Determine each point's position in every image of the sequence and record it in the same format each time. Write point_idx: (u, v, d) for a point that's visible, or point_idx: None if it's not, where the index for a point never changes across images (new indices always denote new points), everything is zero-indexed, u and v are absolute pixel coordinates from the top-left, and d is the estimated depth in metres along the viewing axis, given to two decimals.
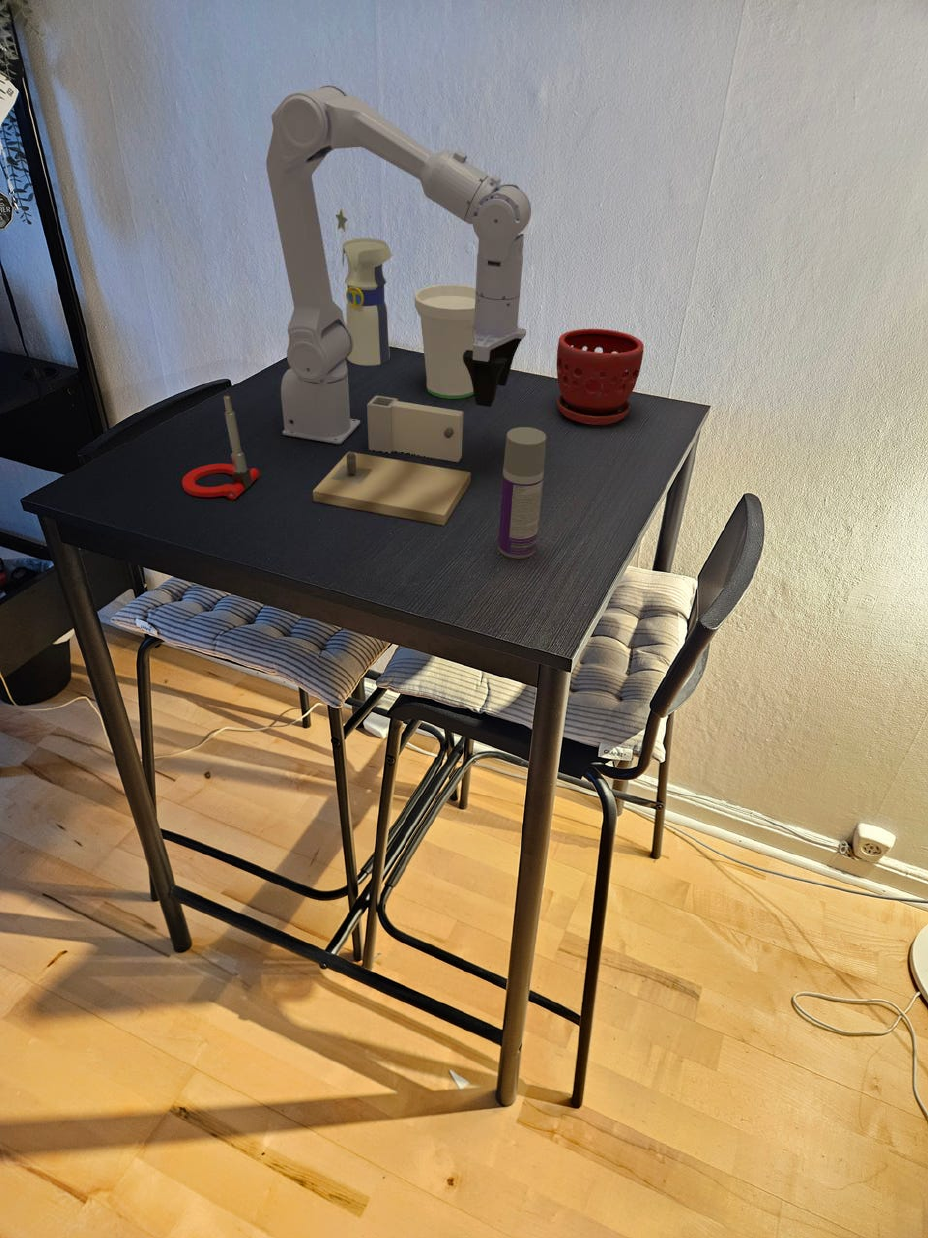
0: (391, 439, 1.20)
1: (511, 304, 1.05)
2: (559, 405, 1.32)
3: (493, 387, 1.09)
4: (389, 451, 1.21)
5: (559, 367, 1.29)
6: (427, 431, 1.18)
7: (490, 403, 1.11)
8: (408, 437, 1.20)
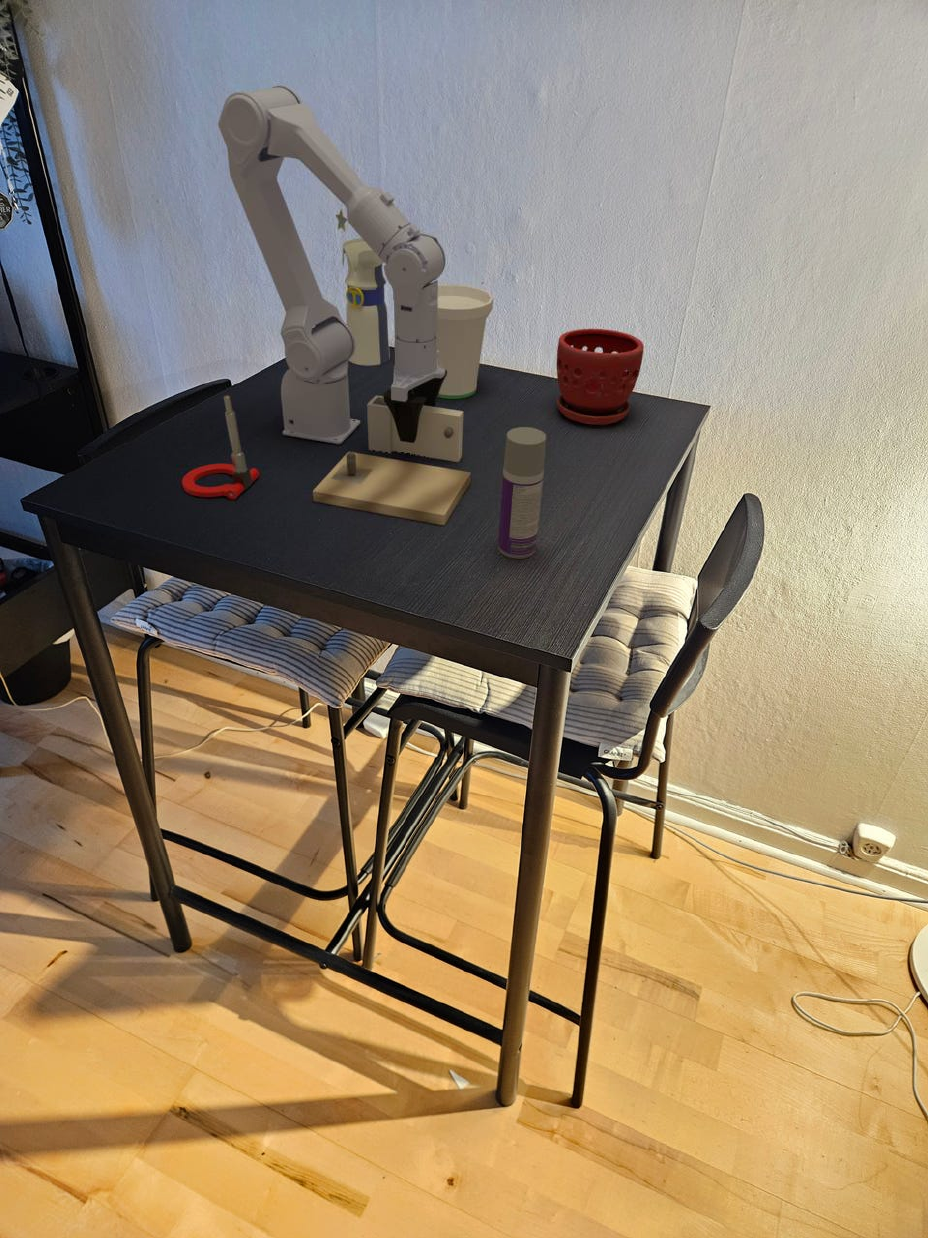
0: (391, 439, 1.20)
1: (428, 346, 1.10)
2: (559, 405, 1.32)
3: (414, 424, 1.14)
4: (389, 451, 1.21)
5: (559, 367, 1.29)
6: (427, 431, 1.18)
7: (413, 439, 1.16)
8: None
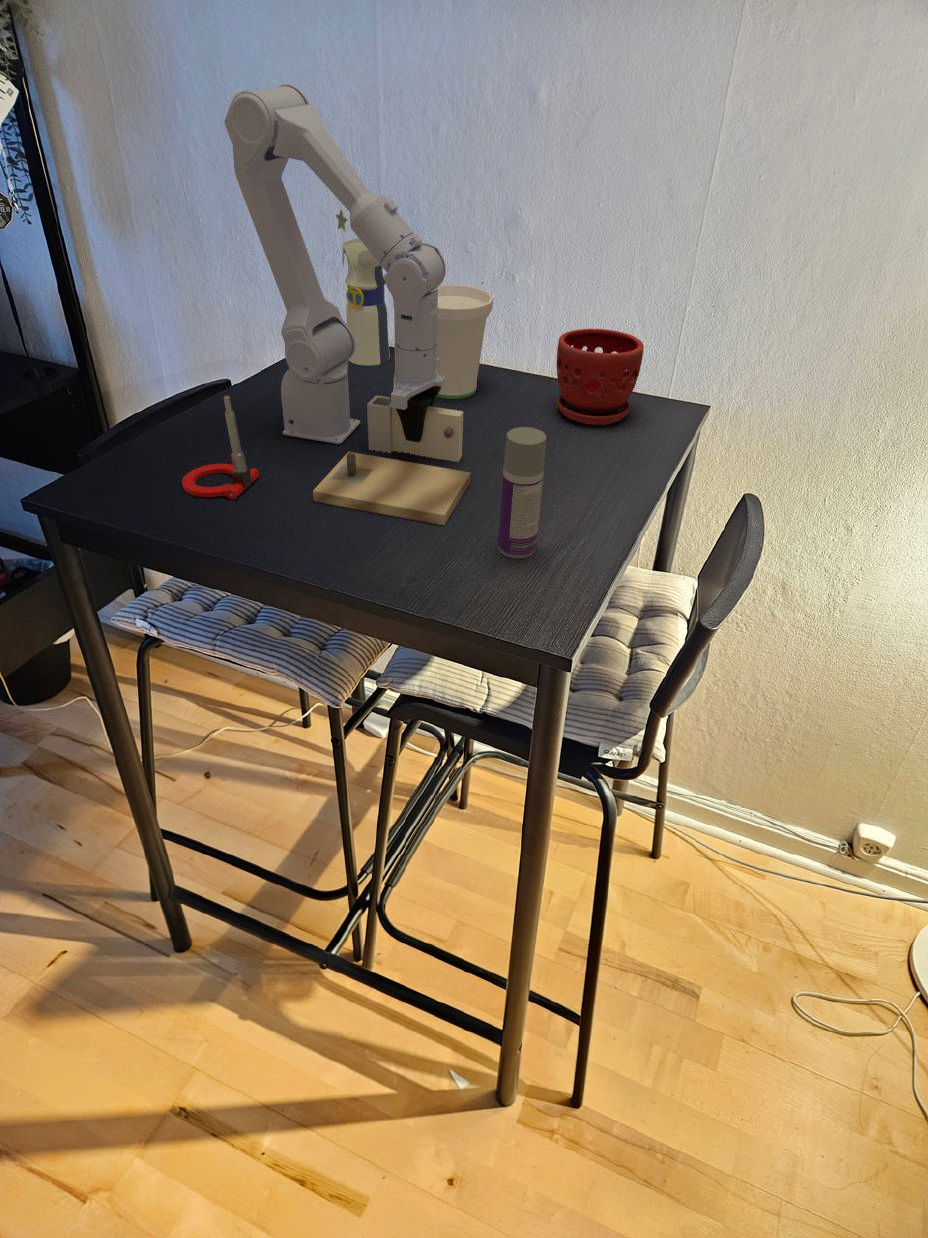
0: (391, 439, 1.20)
1: (428, 355, 1.11)
2: (559, 405, 1.32)
3: (420, 424, 1.17)
4: (389, 451, 1.21)
5: (559, 367, 1.29)
6: (427, 431, 1.18)
7: (418, 439, 1.19)
8: None
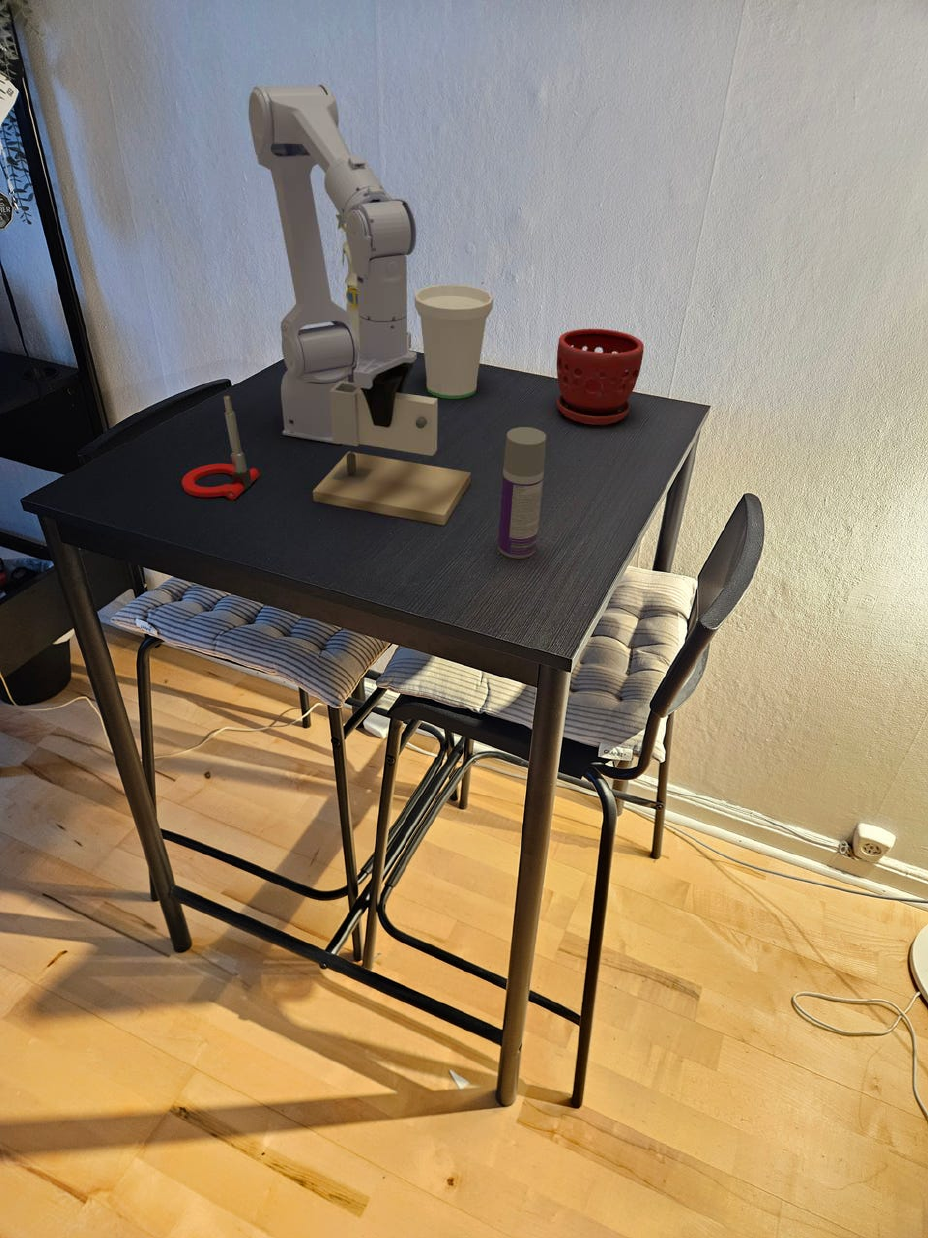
0: (357, 430, 1.07)
1: (396, 326, 0.97)
2: (559, 405, 1.32)
3: (389, 407, 1.03)
4: (355, 444, 1.08)
5: (559, 367, 1.29)
6: (397, 421, 1.05)
7: (388, 423, 1.05)
8: (376, 428, 1.06)
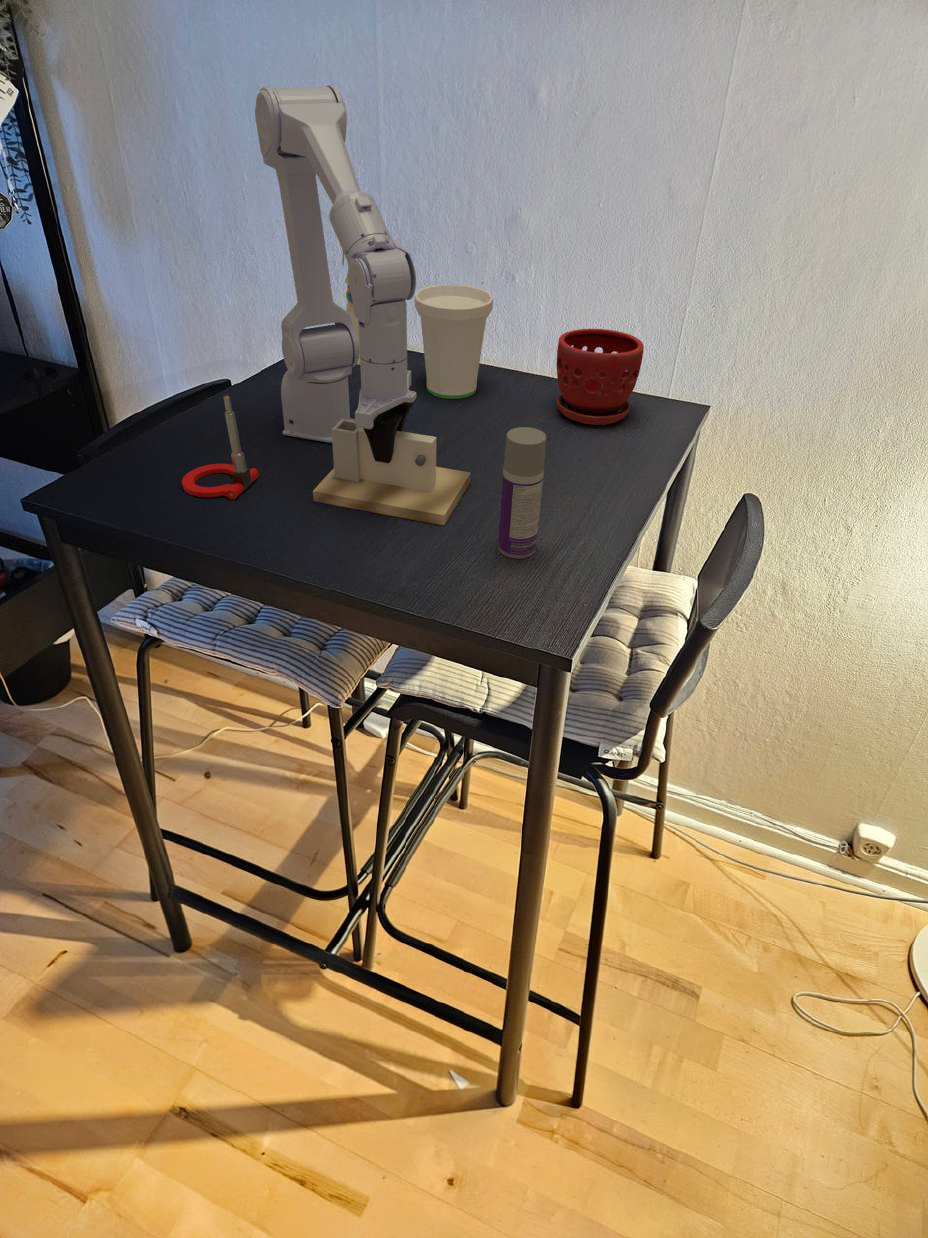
0: (359, 466, 1.10)
1: (396, 368, 1.00)
2: (559, 405, 1.32)
3: (389, 444, 1.06)
4: (356, 479, 1.11)
5: (559, 367, 1.29)
6: (397, 459, 1.08)
7: (388, 459, 1.08)
8: (377, 464, 1.10)
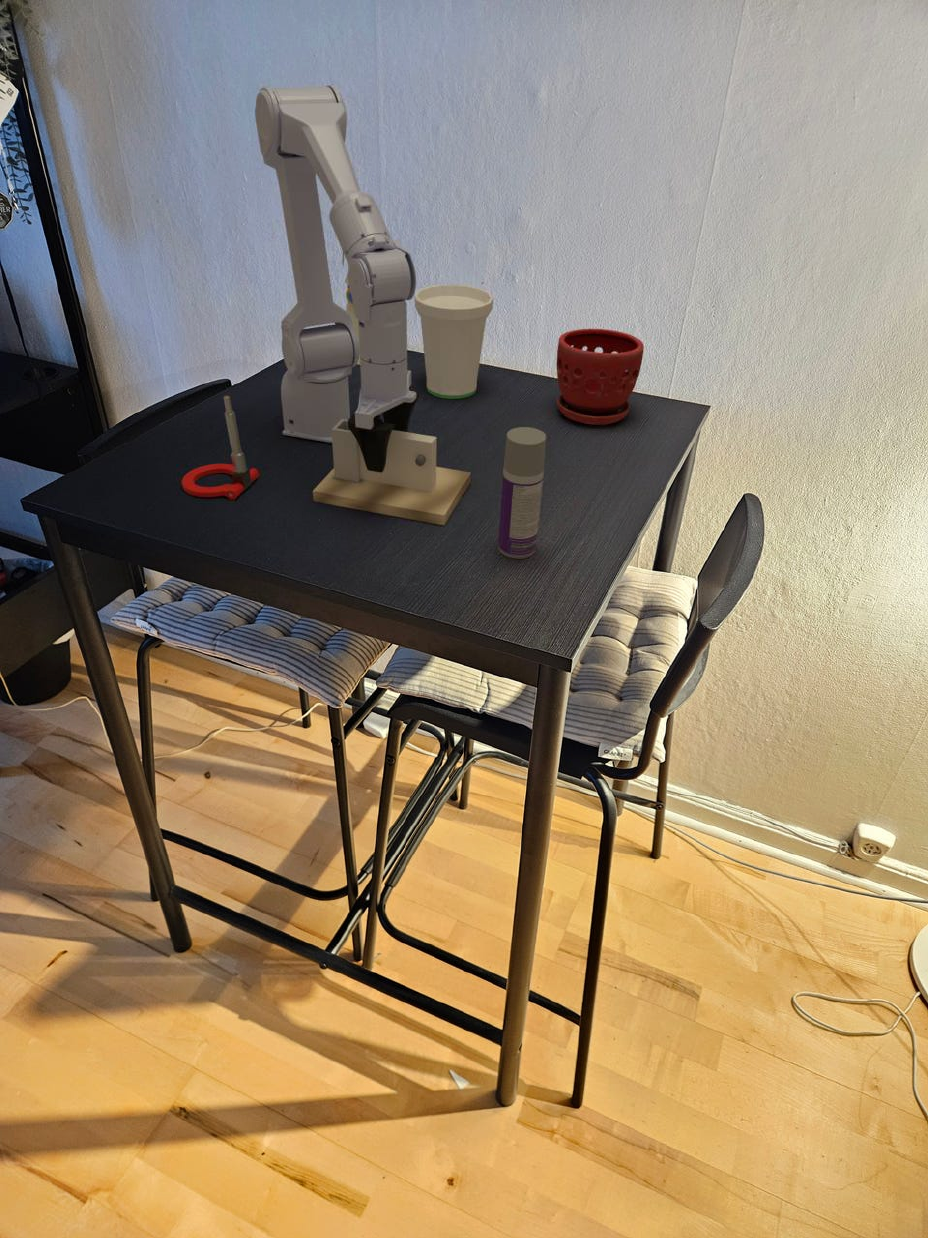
0: (359, 466, 1.10)
1: (396, 368, 1.00)
2: (559, 405, 1.32)
3: (382, 453, 1.04)
4: (356, 479, 1.11)
5: (559, 367, 1.29)
6: (397, 459, 1.08)
7: (381, 469, 1.06)
8: None
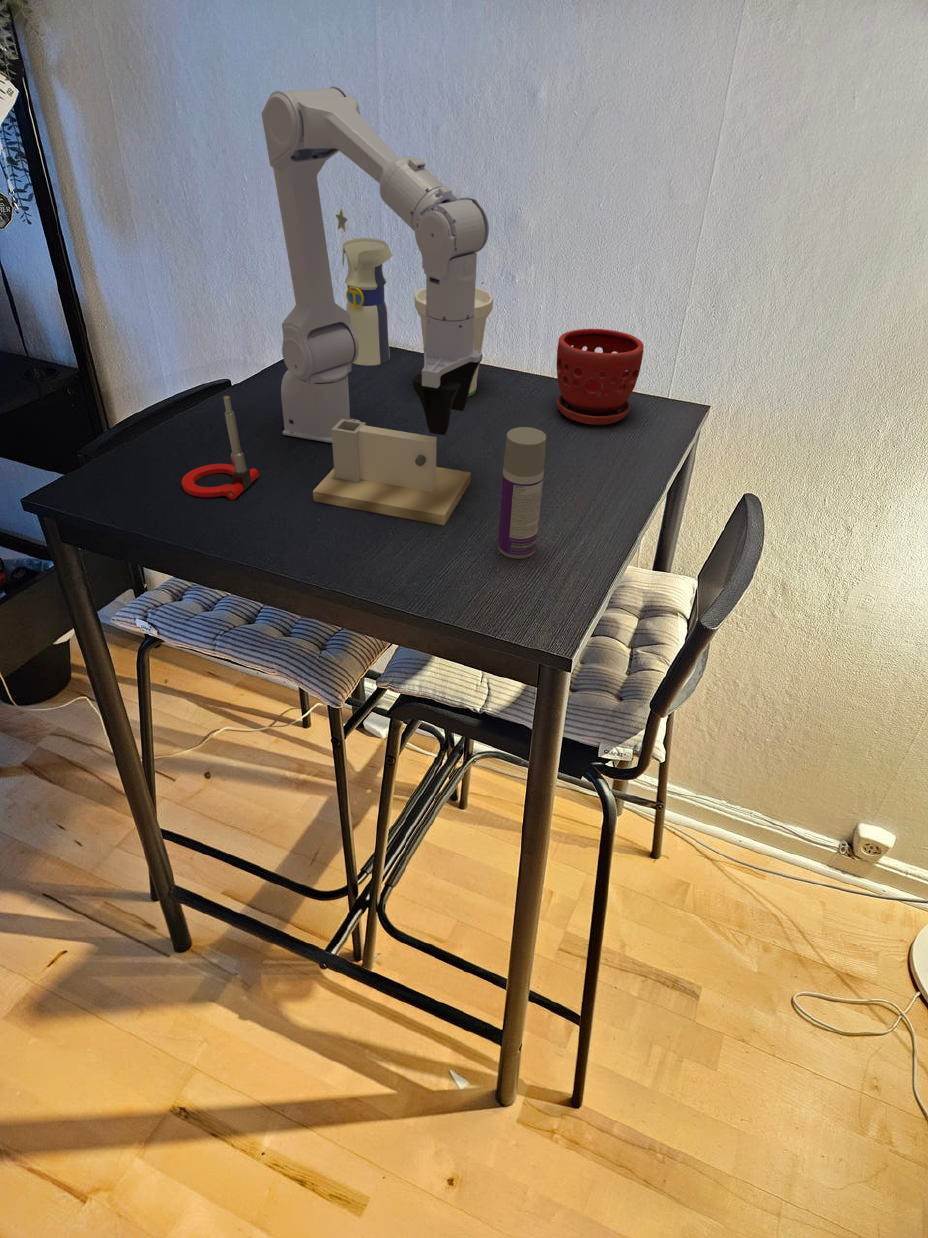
0: (359, 466, 1.10)
1: (464, 326, 0.97)
2: (559, 405, 1.32)
3: (446, 414, 1.01)
4: (356, 479, 1.11)
5: (559, 367, 1.29)
6: (397, 459, 1.08)
7: (444, 431, 1.03)
8: (377, 464, 1.10)
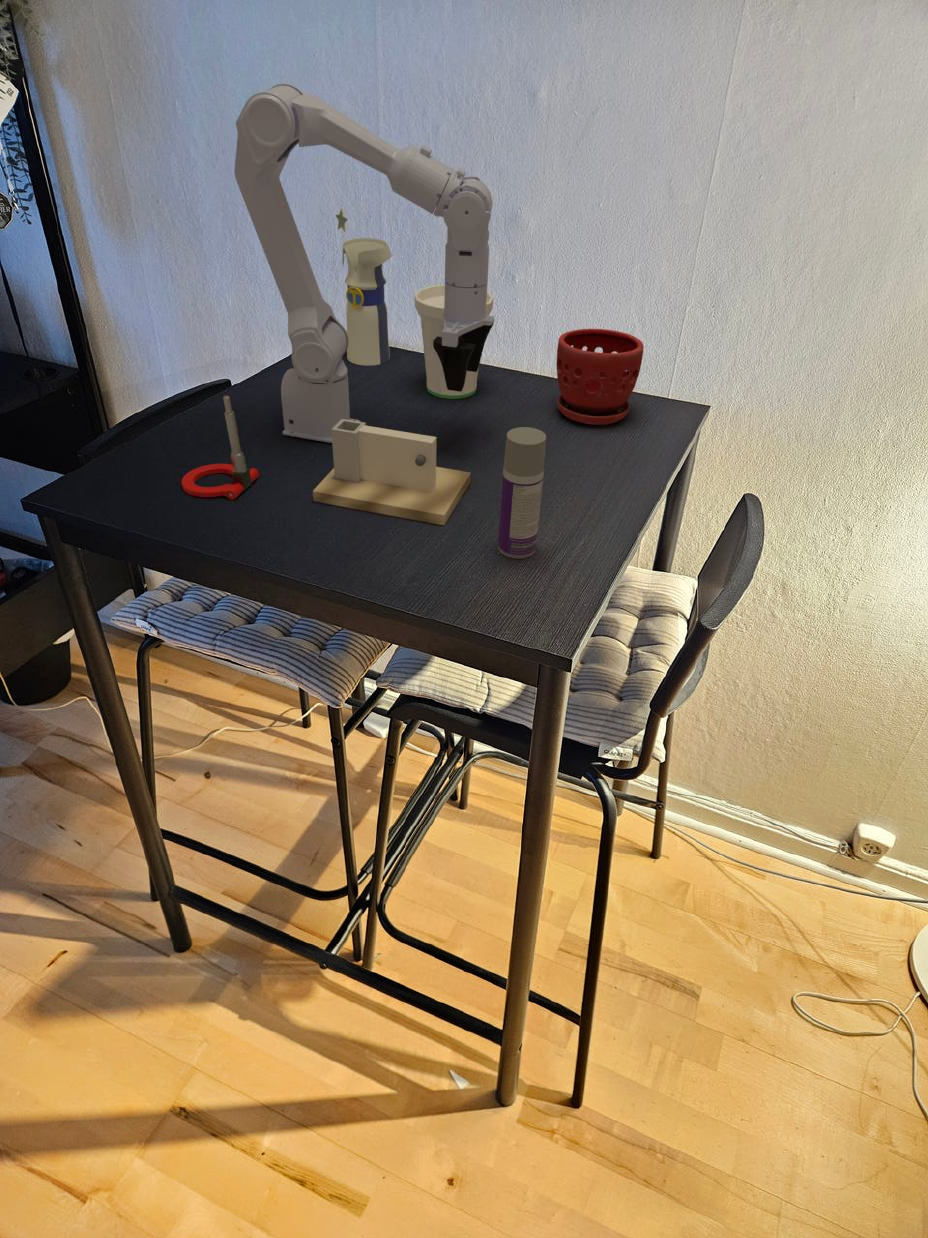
0: (359, 466, 1.10)
1: (478, 292, 1.10)
2: (559, 405, 1.32)
3: (463, 372, 1.14)
4: (356, 479, 1.11)
5: (559, 367, 1.29)
6: (397, 459, 1.08)
7: (460, 388, 1.16)
8: (377, 464, 1.10)
